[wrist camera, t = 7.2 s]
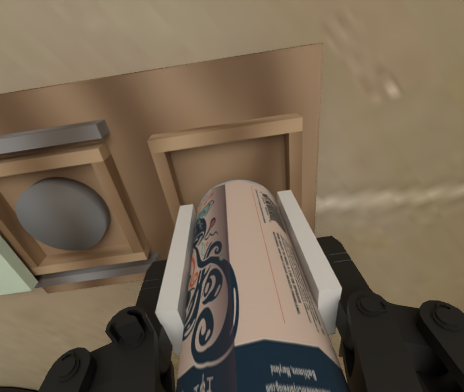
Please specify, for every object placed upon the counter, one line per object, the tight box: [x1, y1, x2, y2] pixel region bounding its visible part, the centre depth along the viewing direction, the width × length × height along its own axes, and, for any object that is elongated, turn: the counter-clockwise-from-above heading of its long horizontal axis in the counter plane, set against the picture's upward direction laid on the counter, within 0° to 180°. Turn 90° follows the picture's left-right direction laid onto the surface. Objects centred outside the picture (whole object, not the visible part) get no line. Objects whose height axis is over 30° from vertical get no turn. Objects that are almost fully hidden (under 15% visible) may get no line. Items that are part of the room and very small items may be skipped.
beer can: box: [176, 180, 350, 392], centre depth 10 cm, size 5×5×12 cm
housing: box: [0, 43, 323, 293], centre depth 18 cm, size 32×16×3 cm, turn 98°
